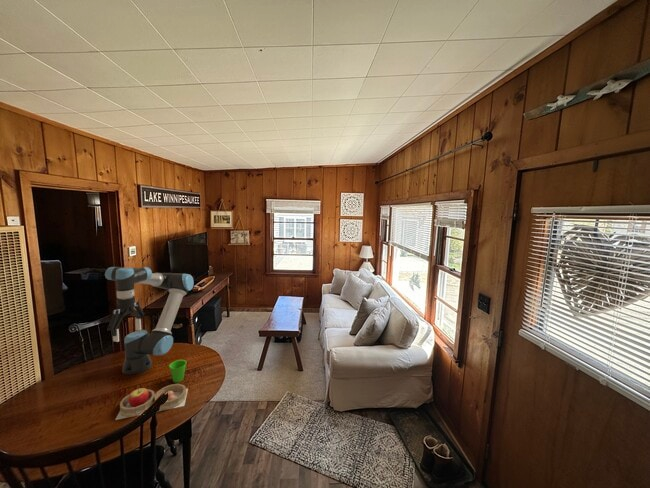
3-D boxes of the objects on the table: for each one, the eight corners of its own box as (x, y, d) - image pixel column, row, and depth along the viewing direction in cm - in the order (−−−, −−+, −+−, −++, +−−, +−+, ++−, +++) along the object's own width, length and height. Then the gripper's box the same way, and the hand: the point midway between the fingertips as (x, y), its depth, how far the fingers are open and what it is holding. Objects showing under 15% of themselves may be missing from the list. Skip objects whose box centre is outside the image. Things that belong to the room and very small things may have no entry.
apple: (147, 397, 137) (146, 379, 136) (150, 405, 131) (149, 387, 130) (127, 404, 131) (126, 386, 130) (130, 414, 125) (129, 395, 124)
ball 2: (167, 401, 134) (166, 395, 134) (174, 398, 137) (174, 392, 136) (168, 405, 132) (168, 399, 131) (176, 402, 134) (176, 396, 134)
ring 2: (152, 398, 136) (152, 391, 136) (181, 387, 146) (181, 380, 145) (157, 414, 126) (157, 406, 125) (189, 400, 135) (188, 393, 135)
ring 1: (119, 404, 131) (118, 397, 130) (151, 392, 140) (151, 385, 140) (122, 421, 121) (121, 413, 120) (157, 407, 130) (156, 399, 130)
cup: (179, 387, 147) (178, 369, 146) (165, 385, 149) (165, 367, 147) (190, 378, 156) (190, 361, 154) (177, 375, 157) (177, 358, 156)
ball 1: (165, 397, 137) (165, 391, 137) (172, 394, 140) (172, 388, 139) (166, 400, 135) (166, 394, 134) (174, 397, 137) (174, 391, 137)
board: (115, 422, 122) (115, 419, 121) (125, 401, 135) (125, 399, 134) (184, 408, 132) (184, 405, 132) (188, 390, 145) (188, 388, 145)
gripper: (110, 305, 124) (112, 347, 126) (151, 290, 148) (152, 326, 151) (96, 304, 124) (98, 346, 127) (139, 289, 149) (140, 324, 151)
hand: (127, 335), depth 139 cm, fingers open, 13 cm apart
